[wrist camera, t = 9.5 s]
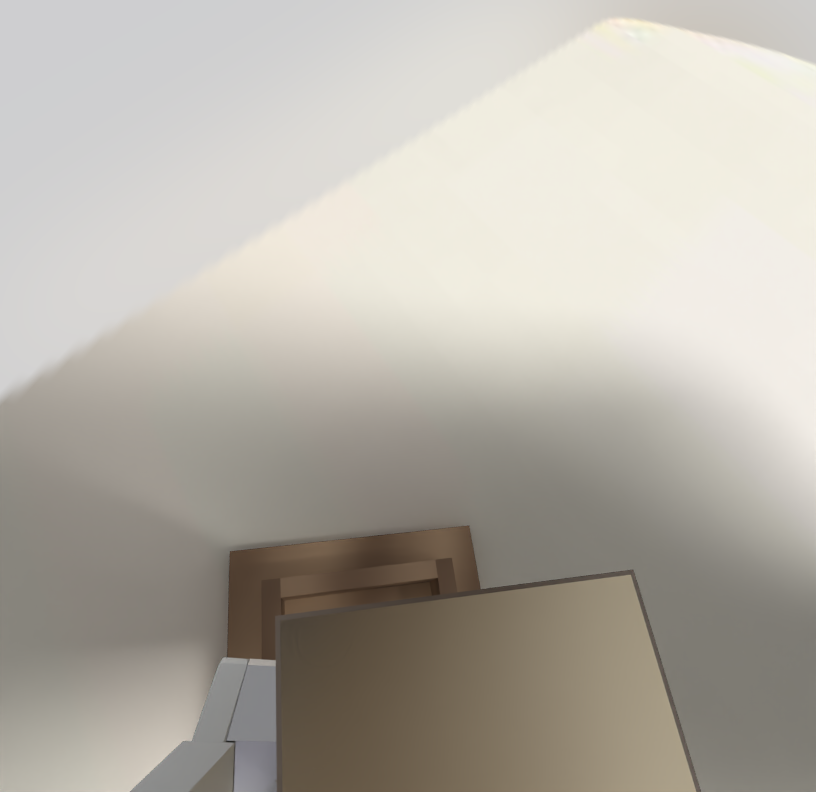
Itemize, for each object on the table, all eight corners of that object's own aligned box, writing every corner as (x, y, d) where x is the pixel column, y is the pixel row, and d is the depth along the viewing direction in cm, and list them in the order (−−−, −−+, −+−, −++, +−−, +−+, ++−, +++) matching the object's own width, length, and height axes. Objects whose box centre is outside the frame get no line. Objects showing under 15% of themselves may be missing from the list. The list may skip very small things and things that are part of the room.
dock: (465, 528, 26) (479, 517, 24) (514, 806, 21) (538, 829, 19) (232, 554, 24) (221, 544, 22) (225, 871, 19) (210, 906, 17)
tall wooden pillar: (432, 612, 16) (633, 569, 6) (453, 760, 15) (792, 1090, 4) (308, 629, 16) (275, 616, 5) (314, 788, 14) (282, 1285, 3)
